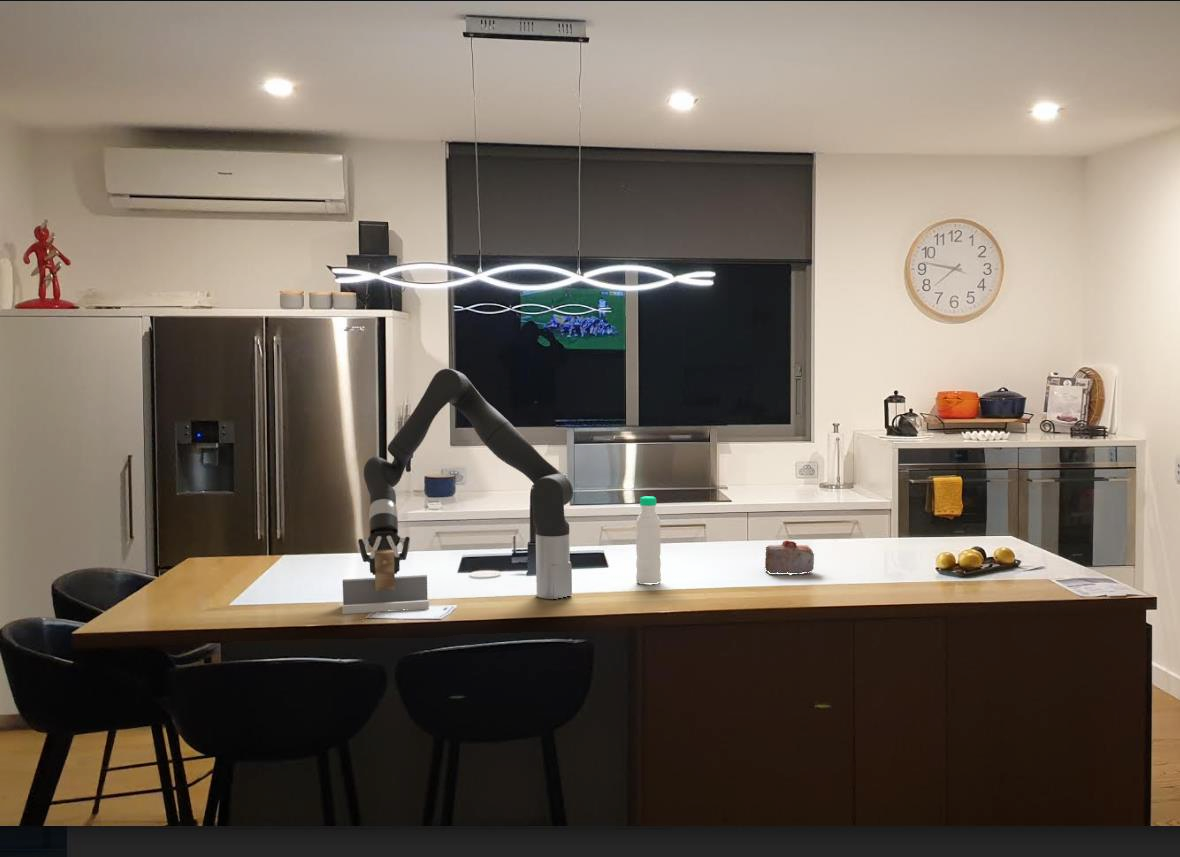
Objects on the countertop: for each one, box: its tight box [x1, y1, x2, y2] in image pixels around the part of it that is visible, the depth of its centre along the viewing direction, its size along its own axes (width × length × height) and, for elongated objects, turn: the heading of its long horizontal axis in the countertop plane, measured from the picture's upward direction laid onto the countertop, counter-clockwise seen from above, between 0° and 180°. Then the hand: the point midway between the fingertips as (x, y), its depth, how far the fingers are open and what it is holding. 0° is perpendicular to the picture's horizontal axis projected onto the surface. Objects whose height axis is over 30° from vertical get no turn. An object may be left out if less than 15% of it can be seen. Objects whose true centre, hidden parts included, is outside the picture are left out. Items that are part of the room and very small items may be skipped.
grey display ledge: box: [341, 574, 430, 615], centre depth 261 cm, size 22×9×7 cm, turn 102°
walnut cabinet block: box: [374, 549, 396, 591], centre depth 261 cm, size 5×5×10 cm
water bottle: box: [635, 495, 662, 583], centre depth 285 cm, size 7×7×25 cm
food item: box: [764, 540, 815, 574], centre depth 296 cm, size 14×8×10 cm, turn 94°
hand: (384, 572), depth 259 cm, fingers closed on walnut cabinet block, 5 cm apart
